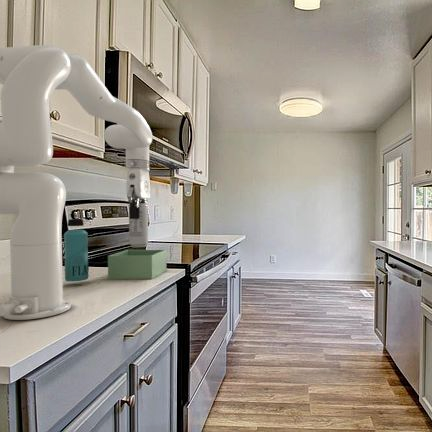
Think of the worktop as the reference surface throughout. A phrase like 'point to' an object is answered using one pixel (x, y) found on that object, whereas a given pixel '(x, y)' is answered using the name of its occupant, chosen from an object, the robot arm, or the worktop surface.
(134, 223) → the energy drink can
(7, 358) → the worktop surface
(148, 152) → the robot arm
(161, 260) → the green storage box
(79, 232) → the beverage bottle
